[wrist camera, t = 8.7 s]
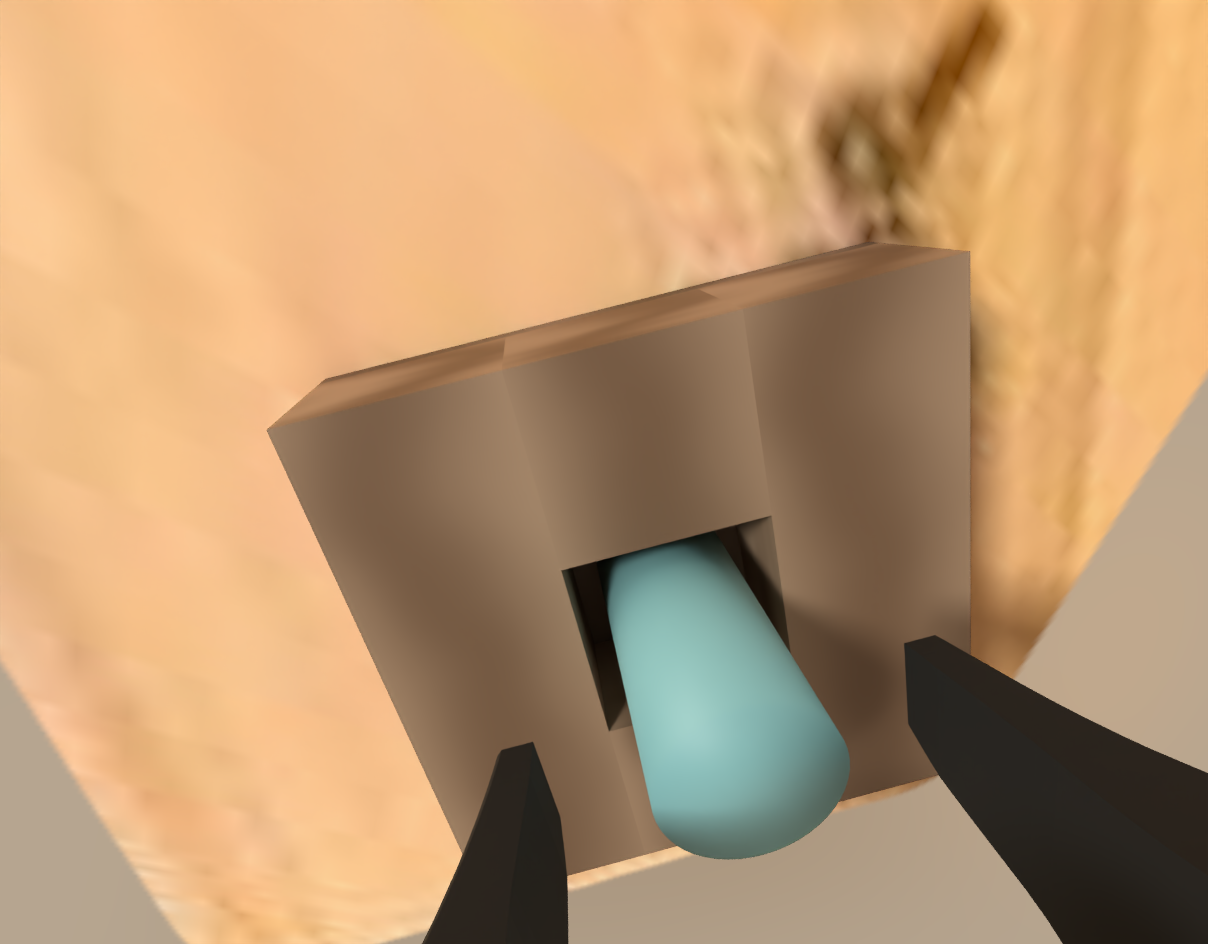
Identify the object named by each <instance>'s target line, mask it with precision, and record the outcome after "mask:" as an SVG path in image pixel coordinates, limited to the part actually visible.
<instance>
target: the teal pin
mask: <svg viewBox="0 0 1208 944" xmlns="http://www.w3.org/2000/svg"><path fill="white" fill-rule="evenodd" d="M597 569H598V573H599V578H600V582H601V587H602V591H603V596H604V600H605V605H606V609H607V613H608V618H609V622H610V627H611V631H612V636H613V640H614V644H615V649H616V653H617V658H618V662H619V667H620V671H621V675H622V680H623V684H624V689H625V693H626V698H627V702H628V707H629V711H630V715H631V720H632V724H633V729H634V733H635V738H636V742H637V746H638V751H639V755H640V760H641V764H642V769H643V773H644V777H645V782H646V786H647V791H648V795H649V800H650V804H651V809H652V813H653V816H654V819H655V821H656V823H657V825H658V827H659V828H660V830H661V831H662V833H663V834H664V835H665V836H666V837H667V838H668V839H669V840H670V841H672V842H673V843H674V844H675V845H677V846H679V847H680V848H682V849H684V850H686V851H688V852H690V853H693V854H696V855H699V856H703V857H708V858H714V859H743V858H750V857H755V856H760V855H764V854H767V853H770V852H773V851H776V850H779V849H781V848H783V847H785V846H788V845H790V844H792V843H794V842H795V841H797V840H799V839H801V838H802V837H804V836H805V835H807V834H808V833H810V832H811V831H812V830H813V829H814V828H816V827H817V826H818V825H820V823H822V822H823V821H824V819H826V818H827V817H828V815H829V814H830V813H831V812H832V810H833V809H834V808H835V807H836V805H837V803H838V802H839V800H840V799H841V797H842V795H843V793H844V790H845V788H846V785H847V782H848V778H849V772H850V758H849V752H848V748H847V746H846V743H845V741H844V739H843V738H842V736H841V734H840V733H839V731H838V729H837V728H836V726H835V725H834V723H833V721H832V720H831V718H830V717H829V715H828V713H827V712H826V710H825V708H824V707H823V705H822V704H821V702H820V700H819V699H818V697H817V696H816V694H815V692H814V691H813V689H812V687H811V686H810V684H809V683H808V681H807V679H806V678H805V676H804V675H803V673H802V671H801V670H800V668H799V666H798V665H797V663H796V662H795V660H794V658H793V657H792V655H791V653H790V652H789V650H788V649H787V647H786V645H785V644H784V642H783V641H782V639H781V637H780V636H779V634H778V632H777V631H776V629H775V628H774V626H773V624H772V623H771V621H770V620H769V618H768V616H767V615H766V613H765V611H764V610H763V608H762V607H761V605H760V603H759V602H758V600H757V599H756V597H755V595H754V594H753V592H752V590H751V589H750V587H749V586H748V584H747V582H746V581H745V579H744V578H743V576H742V574H741V573H740V571H739V569H738V568H737V566H736V565H735V563H734V561H733V560H732V558H731V557H730V555H729V553H728V552H727V550H726V548H725V547H724V545H723V544H722V542H721V540H720V539H719V537H718V536H717V534H716V532H715V531H710V532H706V533H703V534H699V535H695V536H691V537H687V538H683V539H680V540H676V541H672V542H668V543H664V544H660V545H657V546H653V547H649V548H645V549H641V550H637V551H634V552H630V553H626V554H622V555H618V556H615V557H611V558H607V559H603V560H599V561H597Z"/></svg>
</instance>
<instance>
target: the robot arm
mask: <svg viewBox="0 0 1208 944" xmlns="http://www.w3.org/2000/svg"><path fill="white" fill-rule="evenodd" d="M904 653H905V672H906V692H907V712H908V725H909V726H910V728H911V730H912V732H913V733H914V735H915V737H916V738H917V740H918V742H919V744H920V745H921V747H922V749H923V750H924V752H925V754H926V755H927V757H928V759H929V760H930V762H931V764H932V765H933V767H934V768H935V770H936V772H937V773H938V775H939V776H940V778H941V779H942V780H943V782H944V783H945V784H946V786H947V787H948V788H949V790H950V791H951V792H952V794H953V795H954V796H955V798H956V799H957V800H958V802H959V803H960V804H961V806H962V807H963V808H964V810H965V811H966V812H967V813H968V815H969V816H970V817H971V819H972V820H973V821H974V823H975V824H976V825H977V827H978V828H979V829H980V831H981V832H982V833H983V834H984V836H985V837H986V838H987V840H988V841H989V842H990V843H991V845H992V846H993V847H994V849H995V850H996V851H997V853H998V854H999V855H1000V856H1001V858H1002V859H1003V860H1004V861H1005V863H1006V864H1007V866H1008V867H1009V868H1010V870H1011V871H1012V872H1013V873H1014V875H1015V876H1016V877H1017V879H1018V880H1019V881H1020V882H1021V884H1022V885H1023V886H1024V888H1025V889H1026V890H1027V892H1028V893H1029V894H1030V896H1031V897H1032V898H1033V900H1034V902H1035V903H1036V904H1037V906H1038V907H1039V909H1040V910H1041V911H1042V912H1043V914H1044V916H1045V917H1046V918H1047V920H1048V921H1049V923H1050V924H1051V926H1052V927H1053V929H1054V931H1055V932H1056V934H1057V935H1058V937H1059V938H1060V940H1061V942H1062V943H1063V944H1208V773H1206V772H1204V771H1201V770H1199V769H1197V768H1194V767H1192V766H1190V765H1187V764H1185V763H1183V762H1180V761H1178V760H1175V759H1173V758H1171V757H1168V756H1166V755H1164V754H1161V753H1159V752H1156V751H1154V750H1152V749H1150V748H1147V747H1145V746H1143V745H1141V744H1139V743H1136V742H1134V741H1132V740H1130V739H1128V738H1125V737H1123V736H1121V735H1119V734H1117V733H1115V732H1113V731H1111V730H1109V729H1107V728H1105V727H1103V726H1101V725H1099V724H1097V723H1095V722H1093V721H1091V720H1089V719H1086V718H1084V717H1082V716H1081V715H1078V714H1077V713H1075V712H1073V711H1071V710H1069V709H1067V708H1065V707H1063V706H1061V705H1059V704H1057V703H1055V702H1054V701H1052V700H1049V699H1048V698H1046V697H1044V696H1042V695H1040V694H1039V693H1037V692H1035V691H1033V690H1031V689H1029V688H1028V687H1026V686H1024V685H1022V684H1020V683H1019V682H1017V681H1015V680H1013V679H1011V678H1010V677H1008V676H1006V675H1004V674H1003V673H1001V672H999V671H997V670H996V669H994V668H992V667H990V666H989V665H987V664H985V663H983V662H982V661H980V660H978V659H976V658H975V657H973V656H971V655H970V654H968V653H966V652H964V651H963V650H961V649H959V648H957V647H956V646H954V645H952V644H950V643H949V642H947V641H945V640H943V639H942V638H940V637H938V636H936V635H933V636H929V637H925V638H922V639H918V640H914V641H910V642H907V643H904ZM422 944H568V889H567V869H566V860H565V851H564V842H563V834H562V826H561V817H560V814H559V812H558V809H557V806H556V803H555V801H554V798H553V795H552V792H551V790H550V787H549V784H548V781H547V779H546V776H545V773H544V770H543V768H542V765H541V762H540V759H539V757H538V754H537V751H536V748H535V745H534V743H533V742H530V743H526V744H522V745H518V746H515V747H511V748H507V749H503V750H501V751H500V753H499V754H498V756H497V759H496V762H495V766H494V769H493V772H492V775H491V778H490V781H489V785H488V788H487V791H486V794H485V796H484V799H483V802H482V805H481V808H480V811H479V813H478V816H477V819H476V822H475V824H474V827H473V829H472V832H471V834H470V837H469V840H468V842H467V845H466V847H465V850H464V852H463V855H462V857H461V860H460V862H459V865H458V867H457V870H456V872H455V874H454V876H453V879H452V881H451V883H450V885H449V888H448V890H447V892H446V894H445V896H444V899H443V901H442V903H441V905H440V908H439V910H438V912H437V914H436V916H435V919H434V921H433V923H432V925H431V927H430V929H429V931H428V933H427V935H426V937H425V939H424V941H423V943H422Z"/></svg>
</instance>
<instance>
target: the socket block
mask: <svg viewBox="0 0 1208 944" xmlns="http://www.w3.org/2000/svg"><path fill="white" fill-rule="evenodd" d="M267 432H268V434H269V436H270V439H271V441H272V443H273V445H274V447H275V449H276V451H277V454H278V456H279V458H280V460H281V462H282V464H283V467H284V469H285V471H286V473H287V475H288V477H289V480H290V482H291V484H292V486H293V488H294V490H295V493H296V495H297V497H298V499H299V501H300V503H301V506H302V508H303V510H304V512H305V514H306V516H307V518H308V521H309V523H310V525H311V527H312V529H313V531H314V534H315V536H316V538H317V540H318V542H319V544H320V547H321V549H322V551H323V553H324V555H325V557H326V560H327V562H328V564H329V566H330V568H331V570H332V573H333V575H334V577H335V579H336V581H337V583H338V586H339V588H340V590H341V592H342V594H343V596H344V598H345V601H346V603H347V605H348V607H349V609H350V611H351V614H352V616H353V618H354V620H355V622H356V624H357V627H358V629H359V631H360V633H361V635H362V637H363V640H364V642H365V644H366V646H367V648H368V650H369V653H370V655H371V657H372V659H373V661H374V663H375V665H376V668H377V670H378V672H379V674H380V676H381V678H382V681H383V683H384V685H385V687H386V689H387V691H388V694H389V696H390V698H391V700H392V702H393V704H394V707H395V709H396V711H397V713H398V715H399V717H400V720H401V722H402V724H403V726H404V728H405V730H406V733H407V735H408V737H409V739H410V741H411V743H412V745H413V748H414V750H415V752H416V754H417V756H418V758H419V761H420V763H421V765H422V767H423V769H424V771H425V774H426V776H427V778H428V780H429V782H430V784H431V787H432V789H433V791H434V793H435V795H436V797H437V800H438V802H439V804H440V806H441V808H442V810H443V812H444V815H445V817H446V819H447V821H448V823H449V825H450V828H451V830H452V832H453V834H454V836H455V838H456V841H457V843H458V845H459V847H460V849H461V851H462V854H463V852H464V850H465V847H466V845H467V842H468V840H469V837H470V834H471V832H472V829H473V827H474V824H475V822H476V819H477V816H478V813H479V811H480V808H481V805H482V802H483V799H484V796H485V794H486V791H487V788H488V785H489V781H490V778H491V775H492V772H493V769H494V766H495V762H496V759H497V756H498V754H499V753H500V751H501V750H503V749H507V748H511V747H515V746H518V745H522V744H526V743H530V742H533V743H534V745H535V748H536V751H537V754H538V757H539V759H540V762H541V765H542V768H543V770H544V773H545V776H546V779H547V781H548V784H549V787H550V790H551V792H552V795H553V798H554V801H555V803H556V806H557V809H558V812H559V814H560V817H561V826H562V834H563V842H564V851H565V860H566V869H567V876H568V875H572V874H576V873H579V872H583V871H587V870H590V869H594V868H598V867H601V866H605V865H609V864H613V863H616V862H620V861H624V860H627V859H631V858H635V857H638V856H642V855H646V854H649V853H653V852H657V851H660V850H664V849H668V848H671V847H675V846H677V845H675V844H674V843H673V842H672V841H670V840H669V839H668V838H667V837H666V836H665V835H664V834H663V833H662V831H661V830H660V828H659V827H658V825H657V823H656V821H655V819H654V816H653V813H652V809H651V804H650V800H649V795H648V791H647V786H646V782H645V777H644V773H643V769H642V764H641V760H640V755H639V751H638V746H637V742H636V738H635V733H634V729H633V724H632V720H631V715H630V711H629V707H628V702H627V698H626V693H625V689H624V684H623V680H622V675H621V671H620V667H619V662H618V658H617V653H616V649H615V644H614V640H613V636H612V631H611V627H610V622H609V618H608V613H607V609H606V605H605V600H604V596H603V591H602V587H601V582H600V578H599V573H598V569H597V561H599V560H603V559H607V558H611V557H615V556H618V555H622V554H626V553H630V552H634V551H637V550H641V549H645V548H649V547H653V546H657V545H660V544H664V543H668V542H672V541H676V540H680V539H683V538H687V537H691V536H695V535H699V534H703V533H706V532H710V531H715V532H716V534H717V536H718V537H719V539H720V540H721V542H722V544H723V545H724V547H725V548H726V550H727V552H728V553H729V555H730V557H731V558H732V560H733V561H734V563H735V565H736V566H737V568H738V569H739V571H740V573H741V574H742V576H743V578H744V579H745V581H746V582H747V584H748V586H749V587H750V589H751V590H752V592H753V594H754V595H755V597H756V599H757V600H758V602H759V603H760V605H761V607H762V608H763V610H764V611H765V613H766V615H767V616H768V618H769V620H770V621H771V623H772V624H773V626H774V628H775V629H776V631H777V632H778V634H779V636H780V637H781V639H782V641H783V642H784V644H785V645H786V647H787V649H788V650H789V652H790V653H791V655H792V657H793V658H794V660H795V662H796V663H797V665H798V666H799V668H800V670H801V671H802V673H803V675H804V676H805V678H806V679H807V681H808V683H809V684H810V686H811V687H812V689H813V691H814V692H815V694H816V696H817V697H818V699H819V700H820V702H821V704H822V705H823V707H824V708H825V710H826V712H827V713H828V715H829V717H830V718H831V720H832V721H833V723H834V725H835V726H836V728H837V729H838V731H839V733H840V734H841V736H842V738H843V739H844V741H845V743H846V746H847V748H848V752H849V758H850V772H849V778H848V782H847V785H846V788H845V790H844V793H843V795H842V797H841V799H840V800H839V802H840V801H844V800H847V799H851V798H855V797H858V796H862V795H866V794H870V793H873V792H877V791H881V790H884V789H888V788H892V787H895V786H899V785H903V784H906V783H910V782H914V781H917V780H921V779H925V778H928V777H932V776H936V775H938V773H937V772H936V770H935V768H934V767H933V765H932V764H931V762H930V760H929V759H928V757H927V755H926V754H925V752H924V750H923V749H922V747H921V745H920V744H919V742H918V740H917V738H916V737H915V735H914V733H913V732H912V730H911V728H910V726H909V725H908V712H907V692H906V672H905V653H904V643H907V642H910V641H914V640H918V639H922V638H925V637H929V636H933V635H936V636H938V637H940V638H942V639H943V640H945V641H947V642H949V643H950V644H952V645H954V646H956V647H957V648H959V649H961V650H963V651H964V652H966V653H968V654H970V655H971V599H970V251H960V250H950V249H939V248H928V247H917V246H907V245H896V244H885V243H874V242H867V243H863V244H859V245H855V246H851V247H847V248H843V249H839V250H835V251H831V252H827V253H823V254H819V255H815V256H811V257H807V258H803V259H799V260H795V261H792V262H788V263H784V264H780V265H776V266H772V267H768V268H764V269H760V270H756V271H752V272H748V273H744V274H740V275H736V276H732V277H728V278H724V279H720V280H716V281H712V282H708V283H704V284H700V285H696V286H692V287H688V288H685V289H681V290H677V291H673V292H669V293H665V294H661V295H657V296H653V297H649V298H645V299H641V300H637V301H633V302H629V303H625V304H621V305H617V306H613V307H609V308H605V309H601V310H597V311H593V312H589V313H585V314H581V315H578V316H574V317H570V318H566V319H562V320H558V321H554V322H550V323H546V324H542V325H538V326H534V327H530V328H526V329H522V330H518V331H514V332H510V333H506V334H502V335H498V336H494V337H490V338H486V339H482V340H478V341H475V342H471V343H467V344H463V345H459V346H455V347H451V348H447V349H443V350H439V351H435V352H431V353H427V354H423V355H419V356H415V357H411V358H407V359H403V360H399V361H395V362H391V363H387V364H383V365H379V366H375V367H371V368H368V369H364V370H360V371H356V372H352V373H348V374H344V375H340V376H336V377H332V378H328V379H325V380H324V381H322V382H321V383H320V384H319V385H318V386H317V387H316V388H314V389H313V390H312V391H311V392H310V393H309V394H307V395H306V396H305V397H304V398H303V399H302V400H301V401H299V402H298V403H297V404H296V405H295V406H294V407H292V408H291V409H290V410H289V411H288V412H287V413H285V414H284V415H283V416H282V417H281V418H280V419H279V420H277V421H276V422H275V423H274V424H273V425H272V426H270V427H269V428H268V429H267Z"/></svg>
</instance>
